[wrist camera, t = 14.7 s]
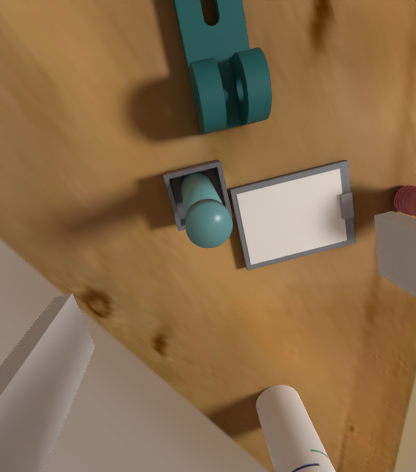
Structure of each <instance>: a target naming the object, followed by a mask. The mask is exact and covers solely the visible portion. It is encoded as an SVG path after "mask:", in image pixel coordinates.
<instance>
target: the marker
mask: <svg viewBox="0 0 416 472" xmlns="http://www.w3.org/2000/svg"><path fill="white" fill-rule="evenodd" d="M181 193H182V200H183V206H184V212H185V225H186V232H187V235H188V237H189V239H190V240H191V241H192V242H193V243H194V244H196V245H197V246H200V247H203V248H213V247H217V246H219V245H221V244H223V243H224V242H225V241H226V240H227V239H228V238H229V236H230V234H231V232H232V228H233V222H232V218H231V216H230V214H229V212H228V210H227V209H226V207H225V206H224V205H223V204H222V202H221V200H220V198H219V196H218V194H217V192H216V190H215V189H214V187H213V185H212V183H211V181H210V179H209V178H208V177H207V176H206V175H205V174H203V173H201V172H195V173H191V174H187V175H185V176H184V178H183V180H182V183H181Z"/></svg>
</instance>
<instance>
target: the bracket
mask: <svg viewBox="0 0 416 472" xmlns="http://www.w3.org/2000/svg"><path fill="white" fill-rule="evenodd" d="M173 2H174V7H175V12H176V16H177V21H178V26H179V31H180V35H181V40H182V45H183V50H184V55H185V59H186V64H187V69H188V74H189V79H190V83H191V88H192V93H193V98H194V102H195V107H196V112H197V117H198V122H199V126H200V131H201V134H206V133H210V132H215V131H219V130H224V129H228V128H233V127H237V126H242V125H246V124H251V123H255V122H259V121H263V120H266V119H268V117H269V115H270V111H271V102H272V91H271V80H270V73H269V68H268V64H267V61H266V58H265V55H264V53H263V51H262V50H261V49H260V48H254V49H250V48H249V41H248V34H247V28H246V21H245V15H244V8H243V1H242V0H213V2H214V7H215V13H216V19H217V24H216V25H214V26H209V25H207V24H206V23H205V21H204V18H203V13H202V7H201V2H200V0H173Z"/></svg>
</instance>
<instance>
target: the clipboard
mask: <svg viewBox="0 0 416 472" xmlns="http://www.w3.org/2000/svg"><path fill="white" fill-rule="evenodd" d="M229 192H230V196H231V201H232V206H233V210H234V215H235V220H236V224H237V229H238V234H239V239H240V243H241V248H242V253H243V257H244V262H245V267H246V269H247V270H251V269H255V268H259V267H263V266H267V265H271V264H275V263H278V262H282V261H286V260H290V259H294V258H298V257H302V256H306V255H310V254H314V253H318V252H321V251H325V250H329V249H333V248H337V247H341V246H345V245H349V244H353V243H356V240H355V230H354V219H353V217H354V208H353V197H352V192H351V186H350V175H349V164H348V161H347V160H342V161H338V162H334V163H330V164H326V165H322V166H318V167H314V168H310V169H306V170H302V171H298V172H294V173H290V174H286V175H282V176H278V177H274V178H270V179H266V180H262V181H258V182H254V183H250V184H246V185H242V186H237V187H233V188H229Z"/></svg>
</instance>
